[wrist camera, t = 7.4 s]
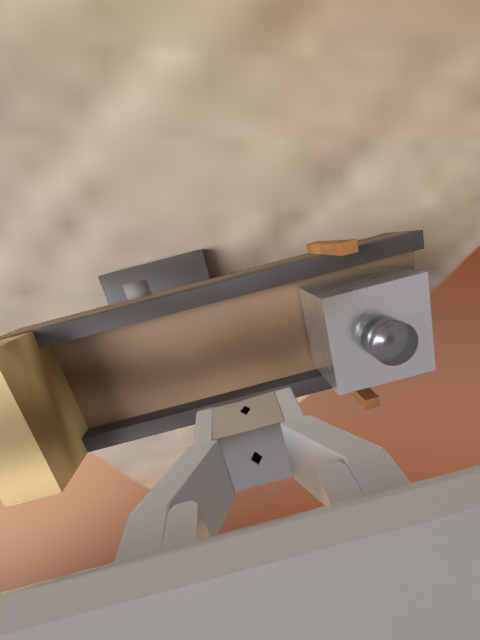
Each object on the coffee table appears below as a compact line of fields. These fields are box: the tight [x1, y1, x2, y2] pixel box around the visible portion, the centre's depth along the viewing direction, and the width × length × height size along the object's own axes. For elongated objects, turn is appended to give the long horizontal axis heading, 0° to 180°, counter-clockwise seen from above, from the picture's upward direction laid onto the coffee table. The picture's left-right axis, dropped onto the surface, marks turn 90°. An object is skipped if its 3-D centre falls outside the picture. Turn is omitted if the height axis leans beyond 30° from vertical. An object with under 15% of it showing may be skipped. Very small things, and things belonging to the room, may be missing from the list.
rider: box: [298, 266, 436, 395], centre depth 15 cm, size 5×5×5 cm
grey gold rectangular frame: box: [0, 230, 424, 507], centre depth 21 cm, size 12×25×14 cm, turn 104°
